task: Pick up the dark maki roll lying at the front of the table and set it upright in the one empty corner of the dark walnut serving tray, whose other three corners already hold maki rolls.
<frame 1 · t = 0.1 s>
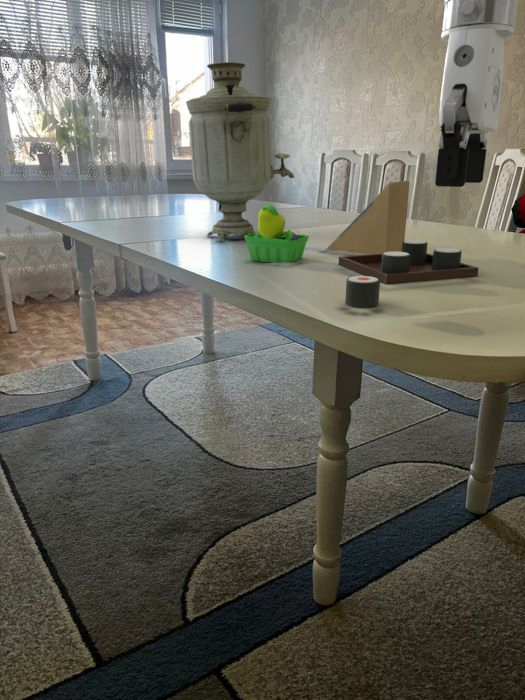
hand: (459, 184, 65), 17 cm above the table, tool pointing down, fingers open, 9 cm apart
tray: (404, 273, 97), on the table
fruit basket: (274, 262, 109), on the table
corner roll b: (394, 277, 91), point 1 cm above the table, touching tray
corner roll a: (445, 273, 94), point 1 cm above the table, touching tray
corner roll c: (413, 263, 103), point 1 cm above the table, touching tray
samovar: (243, 238, 140), on the table
sandwich container: (363, 252, 119), on the table
maki roll: (361, 307, 76), on the table
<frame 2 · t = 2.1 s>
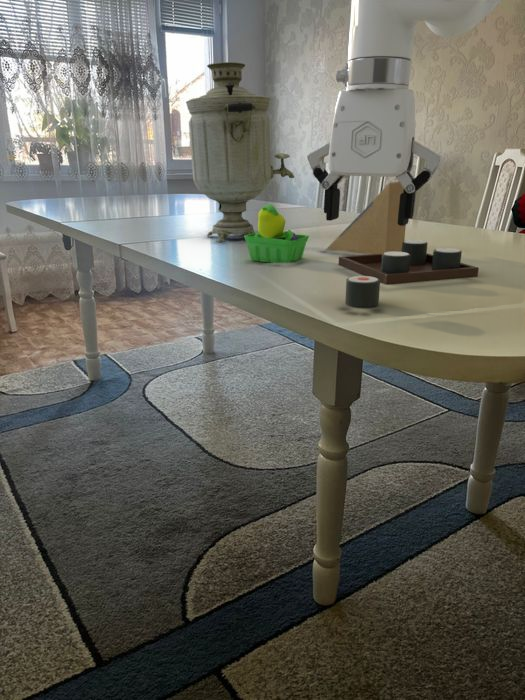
hand: (366, 221, 72), 12 cm above the table, tool pointing down, fingers open, 9 cm apart
nothing on the table moved.
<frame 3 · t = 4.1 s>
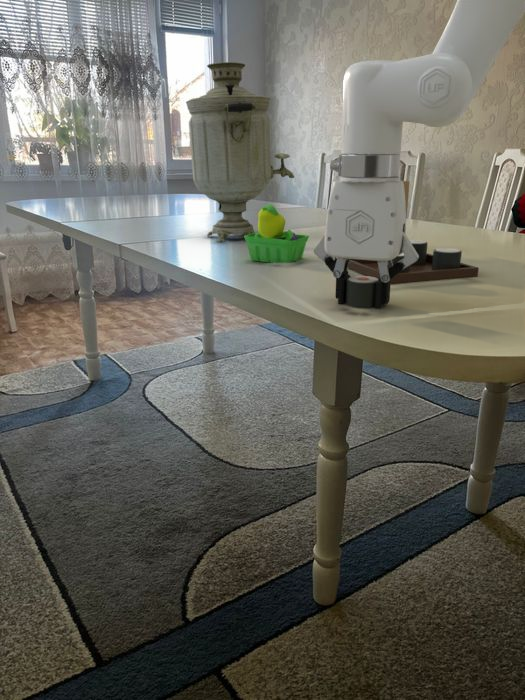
hand: (361, 305, 76), 0 cm above the table, tool pointing down, fingers closed on maki roll, 4 cm apart
maki roll: (361, 307, 76), on the table, touching gripper
everything else where it was.
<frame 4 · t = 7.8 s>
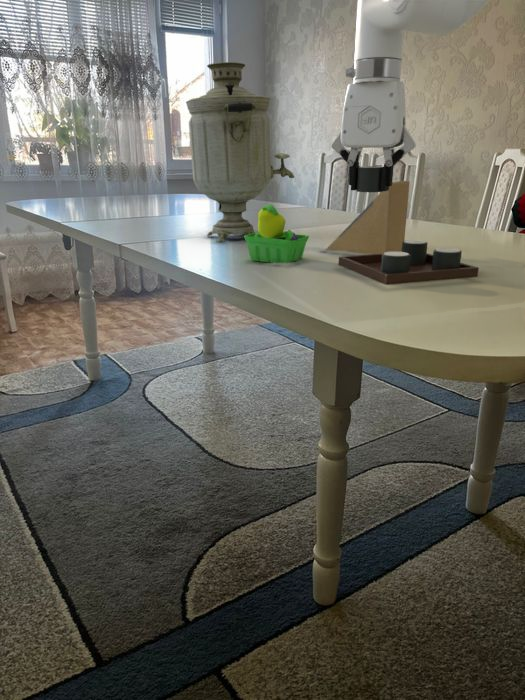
hand: (369, 189, 95), 14 cm above the table, tool pointing down, fingers closed on maki roll, 4 cm apart
maki roll: (369, 191, 95), point 14 cm above the table, touching gripper
everything else where it was.
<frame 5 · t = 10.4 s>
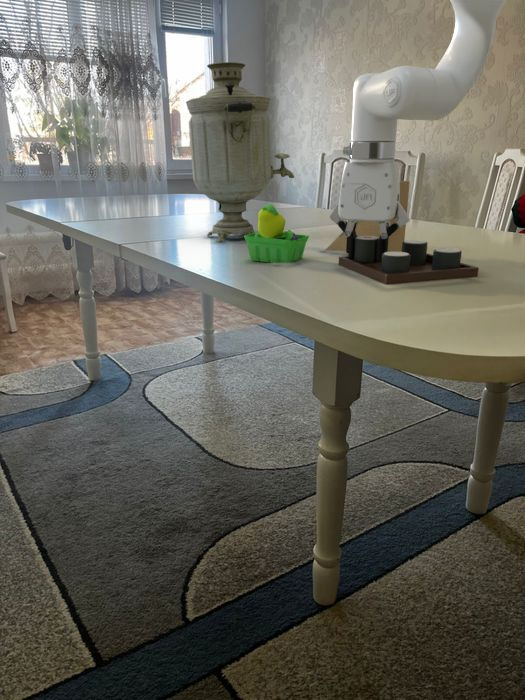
hand: (366, 257, 100), 2 cm above the table, tool pointing down, fingers closed on maki roll, 4 cm apart
maki roll: (366, 259, 100), point 2 cm above the table, touching gripper
everything else where it was.
when the fingers open (2 cm above the table, at t = 11.5 s): maki roll drops 1 cm, resting on tray.
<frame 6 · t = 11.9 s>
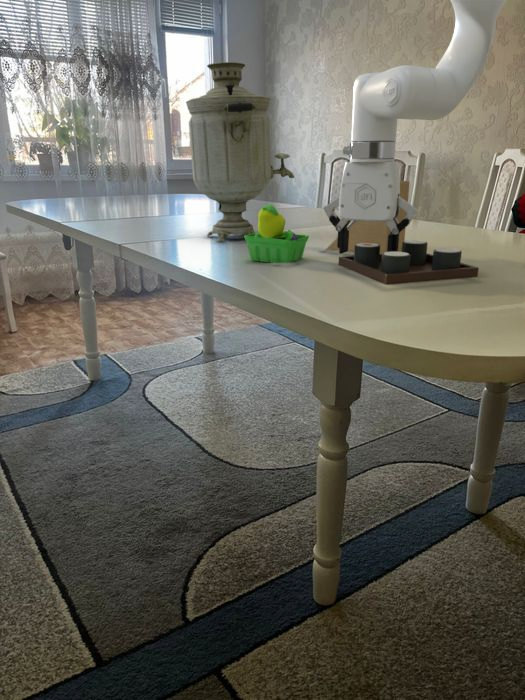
hand: (366, 253, 99), 3 cm above the table, tool pointing down, fingers open, 8 cm apart
maki roll: (366, 266, 100), point 1 cm above the table, touching tray
everything else where it was.
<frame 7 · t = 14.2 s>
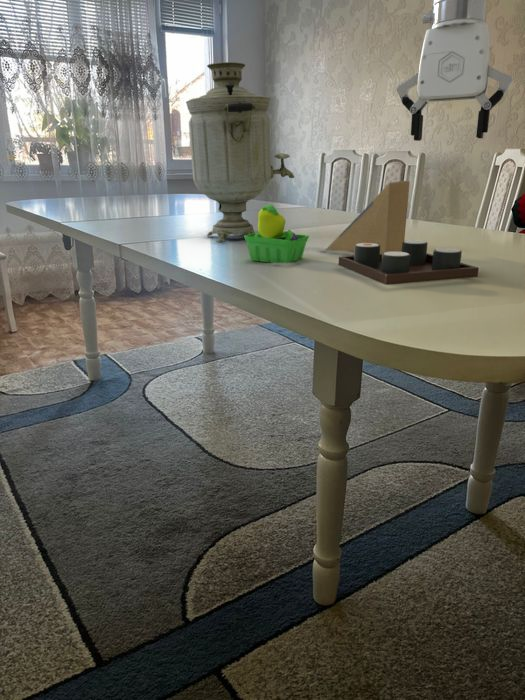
hand: (447, 139, 88), 22 cm above the table, tool pointing down, fingers open, 9 cm apart
nothing on the table moved.
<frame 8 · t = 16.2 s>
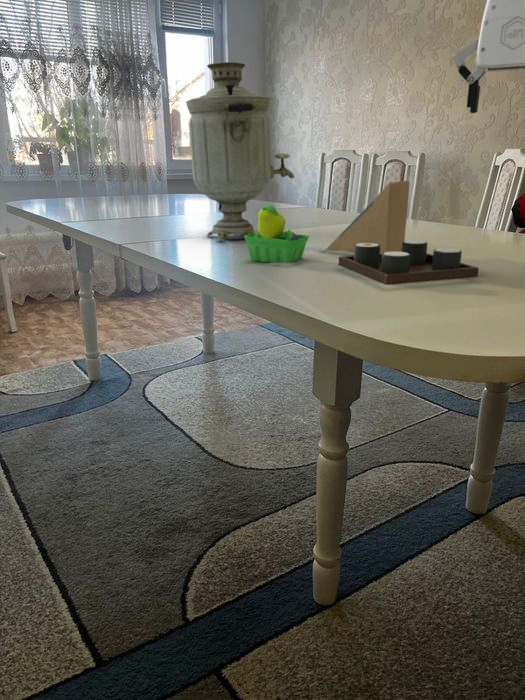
hand: (506, 111, 83), 26 cm above the table, tool pointing down, fingers open, 9 cm apart
nothing on the table moved.
at the end: maki roll 0.6 cm from the target spot in the tray, point 0.6 cm above the tray's base; maki roll tilted 0° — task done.
